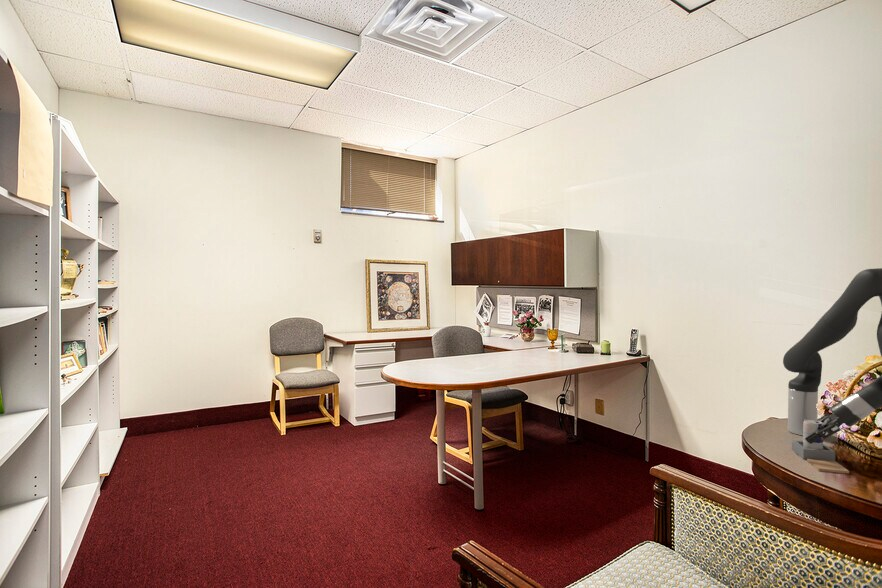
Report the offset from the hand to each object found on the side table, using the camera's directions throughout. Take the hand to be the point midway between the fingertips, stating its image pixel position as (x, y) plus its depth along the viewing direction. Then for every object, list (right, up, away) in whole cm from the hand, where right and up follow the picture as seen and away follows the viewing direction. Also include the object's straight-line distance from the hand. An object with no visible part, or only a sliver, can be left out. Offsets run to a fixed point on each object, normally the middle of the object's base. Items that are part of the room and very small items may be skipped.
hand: (806, 438), depth 161 cm
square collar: (+2, -6, -1) cm, 6 cm away
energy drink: (+2, -6, -1) cm, 6 cm away
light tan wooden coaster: (-1, -6, -10) cm, 12 cm away
